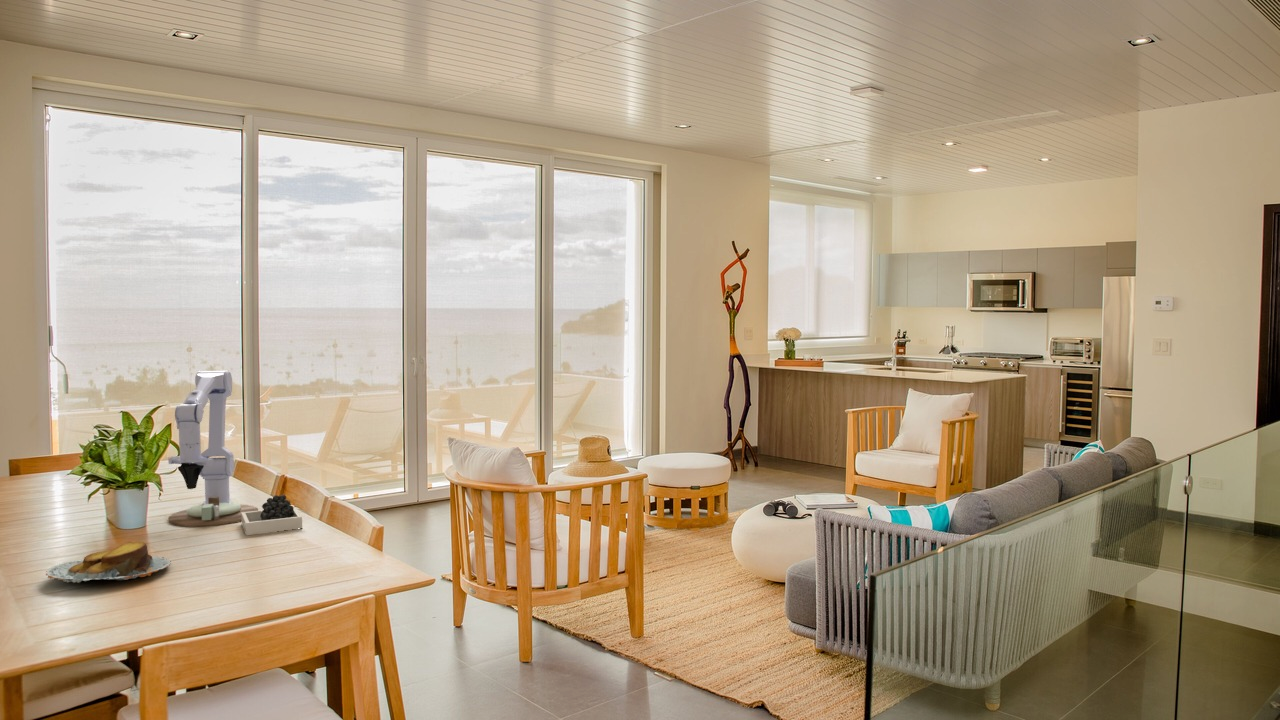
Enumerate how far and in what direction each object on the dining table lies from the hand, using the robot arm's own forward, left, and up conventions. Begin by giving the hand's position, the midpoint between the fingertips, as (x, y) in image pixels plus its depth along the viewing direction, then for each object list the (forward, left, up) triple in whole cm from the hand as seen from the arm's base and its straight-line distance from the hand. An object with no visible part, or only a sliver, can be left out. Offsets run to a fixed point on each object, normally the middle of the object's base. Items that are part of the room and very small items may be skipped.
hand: (191, 488), depth 264 cm
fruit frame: (+18, +20, -10) cm, 29 cm away
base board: (-4, +6, -10) cm, 13 cm away
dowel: (+5, +6, -10) cm, 13 cm away
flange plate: (-2, +6, -9) cm, 10 cm away
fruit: (+18, +21, -10) cm, 29 cm away
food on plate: (+50, -20, -11) cm, 54 cm away
